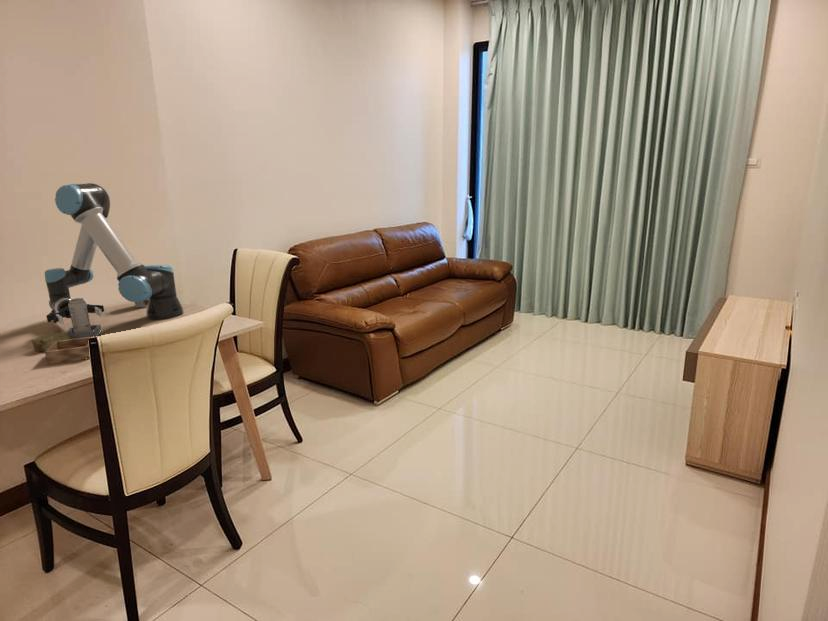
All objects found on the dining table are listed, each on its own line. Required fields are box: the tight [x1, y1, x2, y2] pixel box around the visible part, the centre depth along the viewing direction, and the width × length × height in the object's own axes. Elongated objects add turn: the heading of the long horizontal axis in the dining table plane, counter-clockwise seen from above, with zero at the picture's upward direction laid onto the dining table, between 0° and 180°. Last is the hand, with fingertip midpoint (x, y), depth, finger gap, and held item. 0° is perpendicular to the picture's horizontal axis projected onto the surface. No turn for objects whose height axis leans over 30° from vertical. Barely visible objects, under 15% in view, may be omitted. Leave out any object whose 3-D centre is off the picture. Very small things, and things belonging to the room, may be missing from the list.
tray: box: [66, 323, 102, 339], centre depth 211 cm, size 11×11×2 cm
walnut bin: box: [44, 336, 97, 365], centre depth 187 cm, size 13×13×4 cm
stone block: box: [32, 331, 70, 353], centre depth 197 cm, size 6×12×5 cm, turn 163°
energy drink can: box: [68, 297, 92, 333], centre depth 209 cm, size 6×6×15 cm
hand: (81, 316), depth 206 cm, fingers open, 13 cm apart
